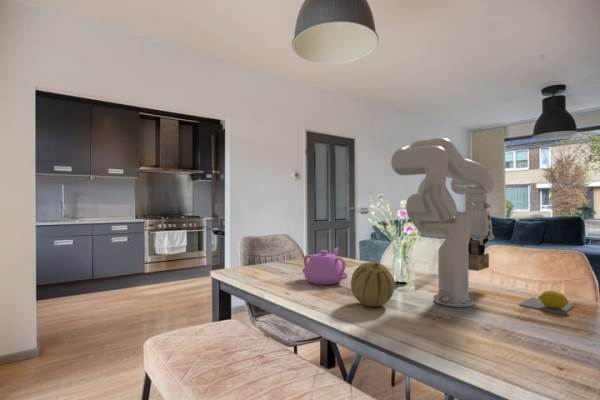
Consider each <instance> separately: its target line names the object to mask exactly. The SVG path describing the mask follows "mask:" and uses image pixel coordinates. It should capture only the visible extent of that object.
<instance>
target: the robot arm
mask: <svg viewBox="0 0 600 400" xmlns="http://www.w3.org/2000/svg"><path fill="white" fill-rule="evenodd" d="M390 161H391V168H392V170H393V172H394V173H395V174H397V175H399V176H414V175H425V177H424V179H423V180H422V181H421V182H420V184H419V186H418V188H417V192H416V193H412V194H411V195H410V196H408V198H407V200H406V203H405V210H406V214H407V217H408V218H409V220H410V221H411V223H412V224H413V225H414V227H415V228H416V229H417V231H418V232H419V233H420V234H421V235H423V236H425V237H429V238H442V239H444V241H443V243H442V244H441V245H440V247H439V248H438V258H437V259H438V294H437V293H436V294H434V295H433V300H434V302H435V303H436V304H439V305H442V306H446V307H451V308H469V307H472V306H473V305H474V303H475V301H474V300H473V298H471V297H469V296H470V295H469V288H470V287H469V286H470V285H469V283H470V282H469V281H470V280H469V278H470V277H469V270H468V254H471V240H474V237H478V240H479V241H480V245H478V254H479V255H483V254H484V253H486V250H485V249H486V244H487V243H488V242H489V241H491V240H494V239H495V236H494V234H493V227H492V226H493V225H492V224H493V223H492V218H491V214H490V213H491V212H490V210H488V209H490V208H491V204H489V203H488V201H487V200H488V198H487V194H491V192H493V191H494V189H495V180H494V177H493V175H492V173H491V171H490V170H489V169H488V168H487V167H486V166H485V165H483V164H481V163H480V162H477V161H473V160H471V159H468V158H464V156H463V155H462V154H461V152H460V151H459V150H458V148H457V147H456V146H455V144H454V143H453V142H452V141H451V140H450V139H448V138H445V137H436V138H430V139H423V140H418V141H413V142H411V143H409V144H407V145H405V146H402V147H400V148H398V149H396V151H394V153H393V154H392V157H391V160H390ZM447 178H449V179H451V182H450V187H451V190H452V192H454V194H457V195H462V196H463V195H464V209H465V210H463V211H460V210H458V208H457V204H456V202H455V199H454V198H453V196H452V194H451V193H450V192H449V190H448V187H447V186H446V182H447Z"/></svg>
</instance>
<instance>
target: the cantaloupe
mask: <svg viewBox="0 0 600 400" xmlns="http://www.w3.org/2000/svg"><path fill="white" fill-rule="evenodd" d="M393 276H394V275H393V274H392V273H391V271H390V270H389V269H388V268H387V266H385V265H383V264H381V263H379V262H377V261H376V262H375V261H372V262H371V261H369V262H364V263H362V264H360V265H359V266H358V267H357V268H355V270H354V271H353V273H352V275H351V280H350V288H351V293H352V295H353V297H354V298H355V299H356V300H357V301H358V303H361V304H362V305H364V306H367V307H371V308H372V307H373V308H376V307H377V308H378V307H381V306H384V305H385V304H386V303H388V302H389V301H390V300H391V298H392V296H393V293H394V289H395V281H394V277H393Z"/></svg>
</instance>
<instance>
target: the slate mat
mask: <svg viewBox="0 0 600 400" xmlns="http://www.w3.org/2000/svg"><path fill="white" fill-rule="evenodd" d="M518 305H519V306H521V307H525V308H531V309H534V310H538V311H539V310H540V311H546V312H549V313H554V314H559V315H564V314H565V313H567V312H569V311H570V310H571V309H573V308H574V304H569V303H568V304H567V305H566V306H565V307H564V308H562V309H553V308H549V307H547V306H545V305H544V304H543V303H542V302H541V300H540V299H539V298H538V297H537V298H535V297H531V298H529V299H527V300H524V301H523V302H521V303H519V304H518Z"/></svg>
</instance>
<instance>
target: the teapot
mask: <svg viewBox="0 0 600 400" xmlns="http://www.w3.org/2000/svg"><path fill="white" fill-rule="evenodd" d="M338 251H339V247H335V248H334V249H333V251H332V253H328V252H329V251H328V249H327V250H326V249H321V250H319V252H320V253H314V254H306V255H305V256H304V257H303V265H304V268H302V273H303V274H304V278H305V279H306V280H307V281H308V282H309V283H311V284H316V285H324V286H330V285H335V284H339V283H340V282H342V280H346V279H347V278H348V273H347V272H345V270H346V261H345V259H344V258H342V257H339V256H338ZM308 258H309V259H308ZM340 261H341V262H340Z"/></svg>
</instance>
